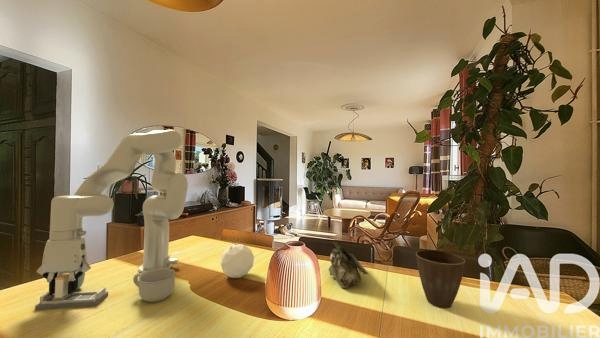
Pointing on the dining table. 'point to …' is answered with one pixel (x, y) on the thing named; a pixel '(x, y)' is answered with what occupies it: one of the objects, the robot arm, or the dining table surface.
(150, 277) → the teacup
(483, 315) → the dining table surface
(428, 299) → the plant pot
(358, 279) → the hollow geode rock
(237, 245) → the geodesic sphere
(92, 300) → the grey tray
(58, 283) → the fader tab
